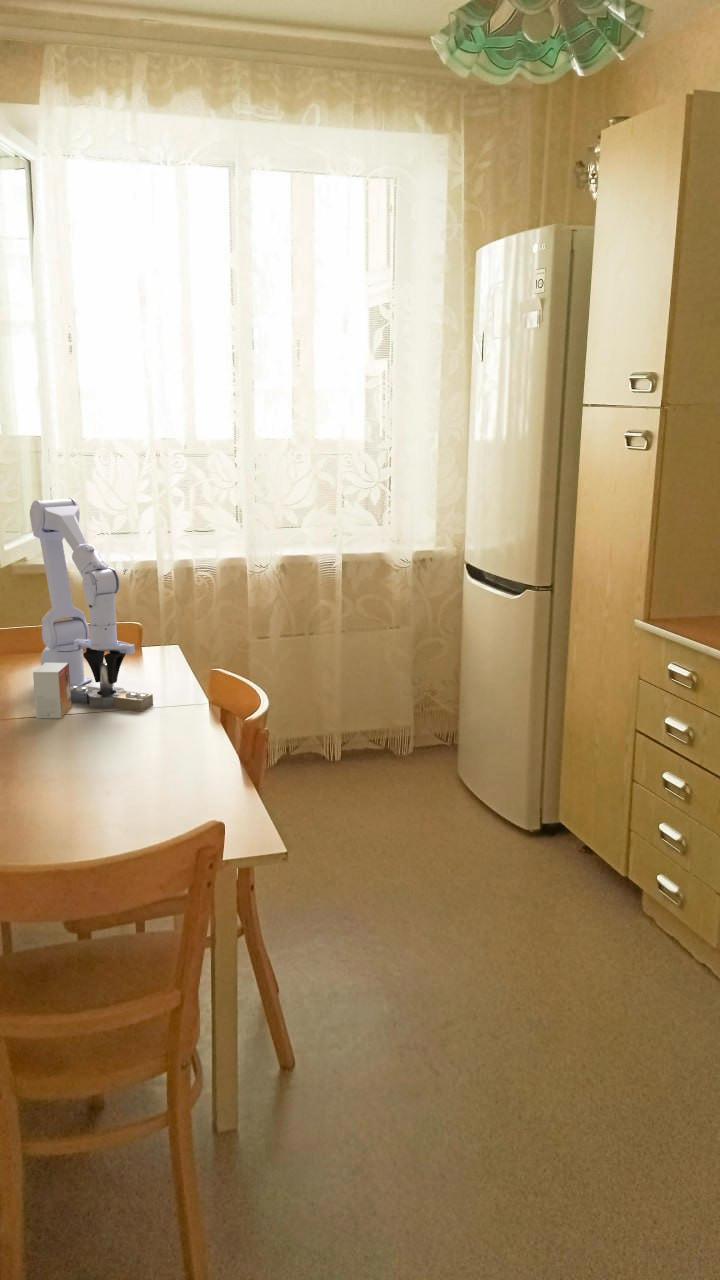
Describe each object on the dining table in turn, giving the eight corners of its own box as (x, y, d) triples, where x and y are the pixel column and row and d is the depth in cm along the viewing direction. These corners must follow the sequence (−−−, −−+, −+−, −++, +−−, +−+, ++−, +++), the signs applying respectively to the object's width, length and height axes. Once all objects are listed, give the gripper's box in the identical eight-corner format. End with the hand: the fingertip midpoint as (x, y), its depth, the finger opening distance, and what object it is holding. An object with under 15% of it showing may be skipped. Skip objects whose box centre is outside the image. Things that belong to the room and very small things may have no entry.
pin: (97, 694, 229) (95, 664, 228) (106, 691, 232) (104, 661, 230) (108, 696, 228) (106, 666, 226) (116, 693, 231) (115, 663, 229)
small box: (61, 719, 219) (58, 672, 217) (35, 718, 220) (32, 671, 217) (72, 707, 227) (69, 662, 225) (47, 707, 227) (44, 661, 225)
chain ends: (57, 703, 230) (56, 690, 229) (78, 693, 237) (77, 681, 237) (137, 713, 223) (137, 700, 223) (156, 703, 231) (156, 690, 230)
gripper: (64, 624, 224) (68, 683, 228) (121, 630, 220) (124, 690, 223) (82, 617, 231) (86, 675, 234) (138, 623, 226) (141, 681, 230)
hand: (106, 682), depth 229 cm, fingers closed on pin, 3 cm apart
